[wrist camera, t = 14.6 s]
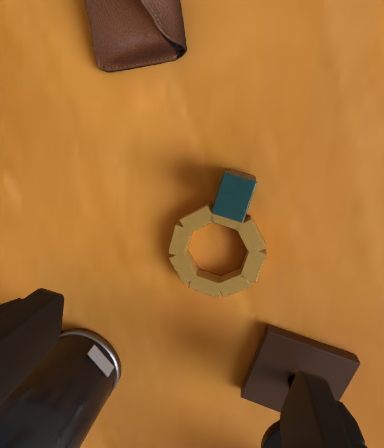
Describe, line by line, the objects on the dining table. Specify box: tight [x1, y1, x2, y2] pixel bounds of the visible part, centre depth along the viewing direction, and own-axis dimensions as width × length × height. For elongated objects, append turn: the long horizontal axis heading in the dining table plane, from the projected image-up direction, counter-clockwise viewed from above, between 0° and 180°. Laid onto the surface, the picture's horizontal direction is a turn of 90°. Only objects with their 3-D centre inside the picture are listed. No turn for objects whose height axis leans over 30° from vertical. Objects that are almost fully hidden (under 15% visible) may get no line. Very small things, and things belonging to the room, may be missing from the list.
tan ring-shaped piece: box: [168, 169, 267, 298], centre depth 25 cm, size 9×12×4 cm
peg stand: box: [241, 324, 360, 448], centre depth 22 cm, size 9×9×15 cm
